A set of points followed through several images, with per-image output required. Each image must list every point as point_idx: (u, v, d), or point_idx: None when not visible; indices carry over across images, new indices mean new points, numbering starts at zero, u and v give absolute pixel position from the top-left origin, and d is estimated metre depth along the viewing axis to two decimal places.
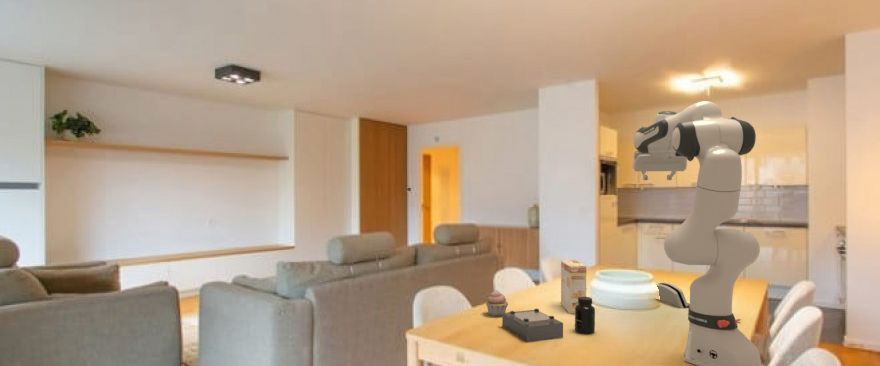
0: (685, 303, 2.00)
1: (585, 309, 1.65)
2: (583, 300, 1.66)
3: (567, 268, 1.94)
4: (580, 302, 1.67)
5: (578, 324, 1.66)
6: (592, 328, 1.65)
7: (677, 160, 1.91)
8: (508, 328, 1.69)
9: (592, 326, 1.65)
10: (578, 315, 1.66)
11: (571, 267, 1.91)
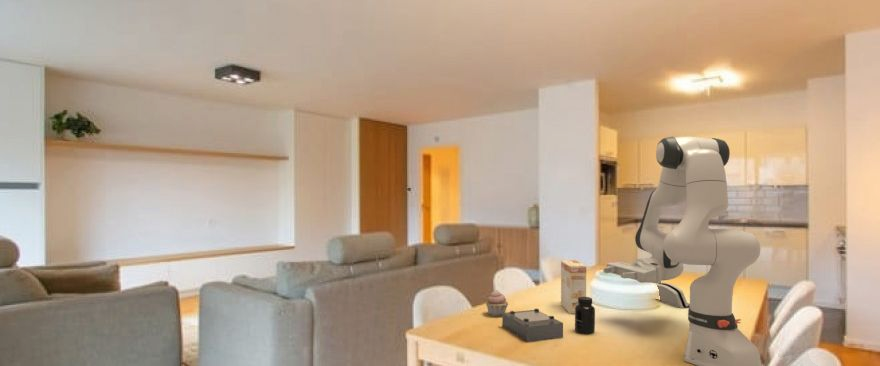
0: (685, 303, 2.00)
1: (585, 309, 1.65)
2: (583, 300, 1.66)
3: (567, 268, 1.94)
4: (580, 302, 1.67)
5: (578, 324, 1.66)
6: (592, 328, 1.65)
7: (646, 270, 1.69)
8: (508, 328, 1.69)
9: (592, 326, 1.65)
10: (578, 315, 1.66)
11: (571, 267, 1.91)
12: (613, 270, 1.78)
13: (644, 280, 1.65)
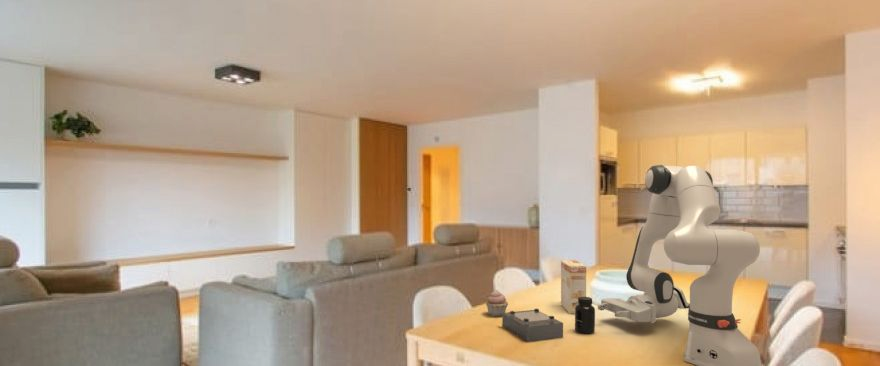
0: (685, 303, 2.00)
1: (585, 309, 1.65)
2: (583, 300, 1.66)
3: (567, 268, 1.94)
4: (580, 302, 1.67)
5: (578, 324, 1.66)
6: (592, 328, 1.65)
7: (641, 308, 1.68)
8: (508, 328, 1.69)
9: (592, 326, 1.65)
10: (578, 315, 1.66)
11: (571, 267, 1.91)
12: (608, 307, 1.78)
13: (638, 320, 1.64)
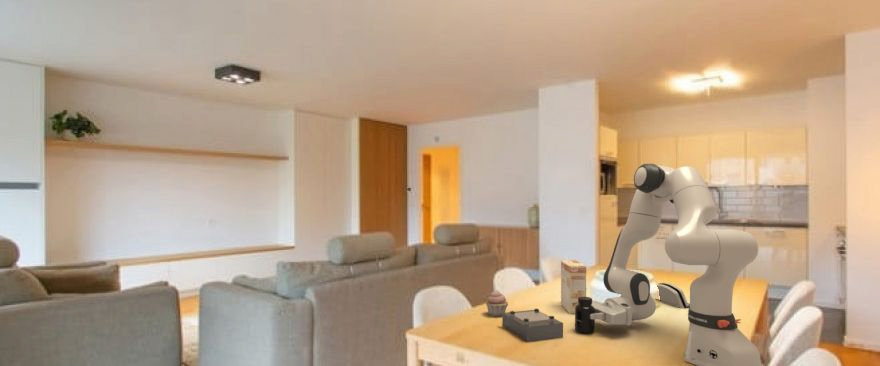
0: (685, 303, 2.00)
1: (585, 309, 1.65)
2: (583, 300, 1.66)
3: (567, 268, 1.94)
4: (580, 302, 1.67)
5: (578, 324, 1.66)
6: (592, 328, 1.65)
7: (616, 311, 1.65)
8: (508, 328, 1.69)
9: (592, 326, 1.65)
10: (578, 315, 1.66)
11: (571, 267, 1.91)
12: None
13: (613, 322, 1.60)
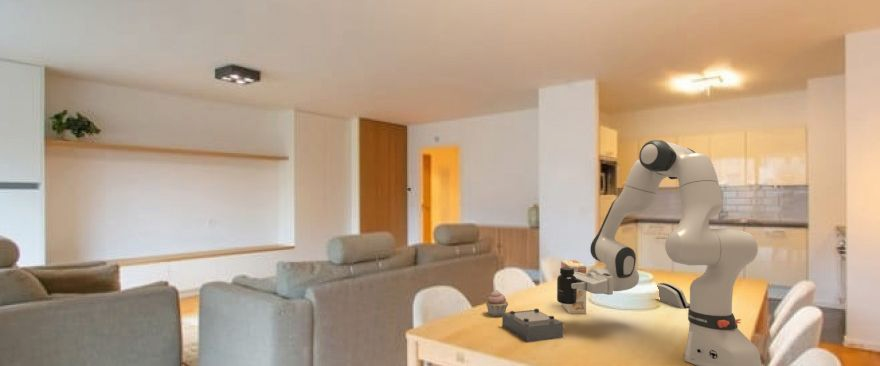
0: (685, 303, 2.00)
1: (567, 278, 1.66)
2: (565, 270, 1.67)
3: None
4: (562, 272, 1.67)
5: (560, 294, 1.67)
6: (574, 298, 1.66)
7: (598, 280, 1.66)
8: (508, 328, 1.69)
9: (574, 296, 1.66)
10: (560, 285, 1.67)
11: (571, 267, 1.91)
12: None
13: (594, 291, 1.61)
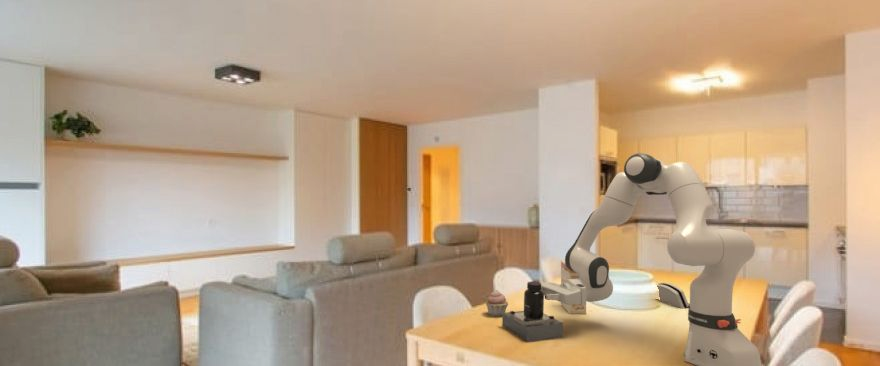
0: (686, 303, 2.00)
1: (534, 294, 1.63)
2: (532, 285, 1.63)
3: (567, 268, 1.94)
4: (529, 287, 1.64)
5: (527, 310, 1.64)
6: (540, 313, 1.63)
7: (571, 291, 1.66)
8: (508, 328, 1.69)
9: (540, 311, 1.63)
10: (527, 300, 1.64)
11: None
12: None
13: (567, 302, 1.61)
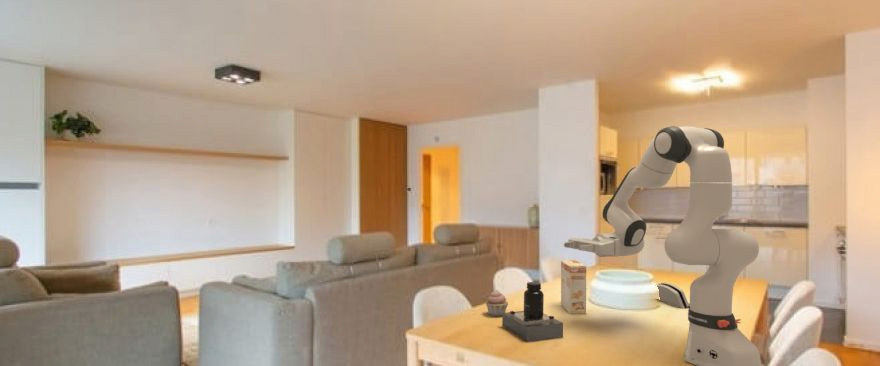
0: (686, 303, 2.00)
1: (533, 294, 1.63)
2: (531, 285, 1.64)
3: (567, 268, 1.94)
4: (528, 287, 1.65)
5: (526, 310, 1.64)
6: (540, 313, 1.64)
7: (605, 243, 1.71)
8: (508, 328, 1.69)
9: (540, 311, 1.64)
10: (526, 300, 1.64)
11: (571, 267, 1.91)
12: (574, 245, 1.80)
13: (601, 252, 1.66)
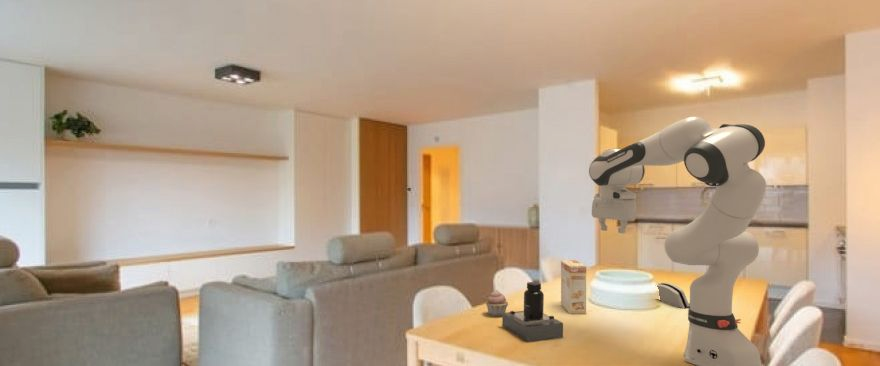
0: (686, 303, 2.00)
1: (533, 294, 1.63)
2: (531, 285, 1.64)
3: (567, 268, 1.94)
4: (528, 287, 1.65)
5: (526, 310, 1.64)
6: (540, 313, 1.63)
7: (620, 206, 1.66)
8: (508, 328, 1.69)
9: (540, 311, 1.63)
10: (526, 300, 1.64)
11: (571, 267, 1.91)
12: (604, 218, 1.77)
13: (634, 219, 1.63)
